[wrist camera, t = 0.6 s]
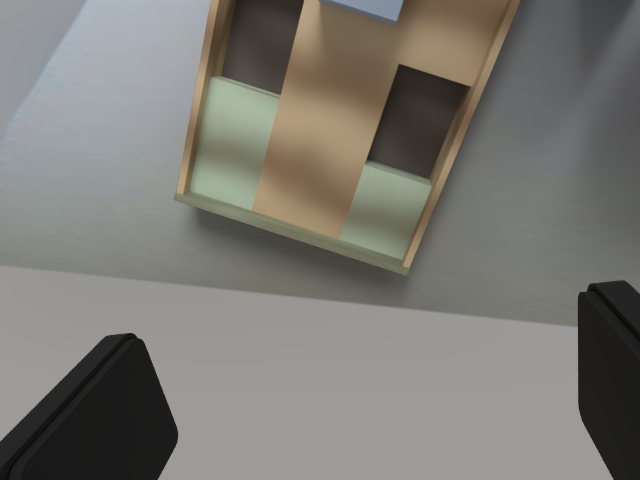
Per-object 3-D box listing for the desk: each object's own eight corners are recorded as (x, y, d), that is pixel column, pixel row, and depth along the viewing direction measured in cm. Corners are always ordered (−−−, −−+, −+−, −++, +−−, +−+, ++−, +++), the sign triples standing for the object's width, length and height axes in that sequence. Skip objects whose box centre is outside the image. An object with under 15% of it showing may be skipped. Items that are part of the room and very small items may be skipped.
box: (260, -155, 29) (242, -186, 25) (535, -67, 29) (557, -86, 25) (194, 186, 38) (173, 199, 34) (404, 254, 37) (406, 276, 34)
